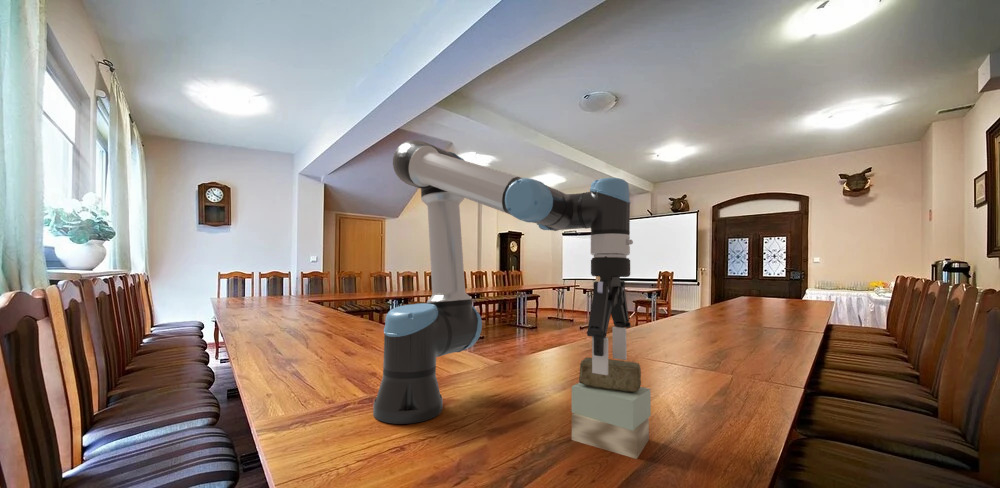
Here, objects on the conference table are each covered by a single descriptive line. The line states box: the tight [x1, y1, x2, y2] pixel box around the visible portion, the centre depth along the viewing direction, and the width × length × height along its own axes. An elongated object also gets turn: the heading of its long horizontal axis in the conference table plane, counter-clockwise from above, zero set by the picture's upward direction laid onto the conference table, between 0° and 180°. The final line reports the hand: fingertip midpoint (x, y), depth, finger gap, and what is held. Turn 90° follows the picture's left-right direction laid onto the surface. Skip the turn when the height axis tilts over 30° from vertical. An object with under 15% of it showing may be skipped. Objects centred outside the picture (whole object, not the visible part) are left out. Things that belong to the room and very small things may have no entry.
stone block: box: [578, 356, 642, 392], centre depth 72 cm, size 6×12×5 cm, turn 68°
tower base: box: [571, 413, 650, 460], centre depth 71 cm, size 12×9×5 cm
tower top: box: [571, 382, 652, 431], centre depth 71 cm, size 12×9×5 cm
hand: (610, 365), depth 72 cm, fingers open, 13 cm apart
